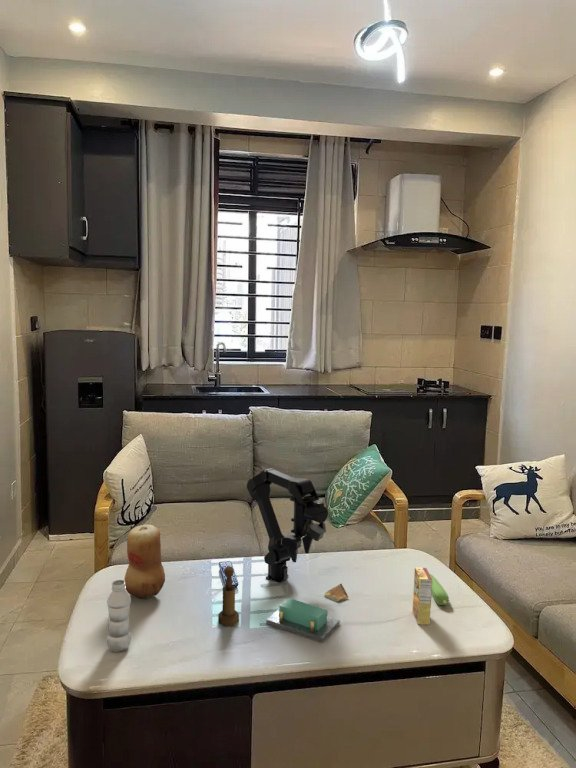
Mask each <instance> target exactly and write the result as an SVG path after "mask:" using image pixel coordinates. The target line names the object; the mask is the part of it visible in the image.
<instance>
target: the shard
mask: <svg viewBox="0 0 576 768" xmlns="http://www.w3.org/2000/svg"><path fill="white" fill-rule="evenodd" d="M324 597H326V598H327V599H331V600H332V601H335V602H339V601H343V600H348V599H349V595H348V593H347V591H346V589H345V588H344V586H343V584H342V583H340V584H338V585H336V586H335V587H332V588H330V589H329V590H328V591H326V592H324Z"/></svg>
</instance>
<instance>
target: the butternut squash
mask: <svg viewBox="0 0 576 768" xmlns="http://www.w3.org/2000/svg"><path fill="white" fill-rule="evenodd" d="M161 544H162V543H161V532H160V530H159V529H158V527H156V526H154V525H153V524H141V525H138V526H135V527H134V528H132V529H131V530H130V531H129V533H128V534H127V539H126V554H127V559H128V566H127V567H126V571H125V576H124V581H125V586H126V589H125V590H126V591H127V592H128V594H129V595H130V596H133V597H135V598H138V599H141V600H147V599H148V598H150V597H153V596H157V595H158V594H160V592H161V590H162V589H163V587H164V585H165V582H166V573H165V569H164V565H163V564H162V545H161Z"/></svg>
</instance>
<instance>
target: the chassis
mask: <svg viewBox="0 0 576 768" xmlns="http://www.w3.org/2000/svg"><path fill="white" fill-rule="evenodd" d="M265 625H268V626H271V627H273V628H277V629H280V630H284V631H286V632H289V633H293V634H295V635H299V636H301V637H304V638H307V639H311V640H313V641H317V642H319V643H324V642H325V641H326V639H328V637H329V636H331V634H332V633H333V632H334V631H335V630H336V629H337V628H338V627H339V626H340V619H337V618H334V617H331V616H328V615H327V622H326V623H325V624H324V625H323V626H322V627H321V628H320V629H319V630H315V629H314V621H313V620H312V621H310V628H309V627H306V626H303V625H300V624H297V623H294V622H291V621H288V620H285V619H283V611H280V615H279V608H278V609H277V610H276V611H274V612H273V613H272V614H271V615H270V616H268V617H267V618H266V619H265Z"/></svg>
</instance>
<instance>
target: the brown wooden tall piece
mask: <svg viewBox="0 0 576 768" xmlns="http://www.w3.org/2000/svg"><path fill="white" fill-rule="evenodd" d="M223 570H224V571H223V573H224V575H225V578H226V579H225V585H224V586H223V587H222V610H221V611H220V612H219V613H218V616H217V622H218V624H219V625H221V626H222V627H234V626H236V625H238V624H239V622H240V614H239V611H237V610H236V587H235V586H234V585H233V581H234V580H232V577H233V575H234V571H235V570H234V568H233V567H232V566H226V567H225V568H224V569H223Z"/></svg>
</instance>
